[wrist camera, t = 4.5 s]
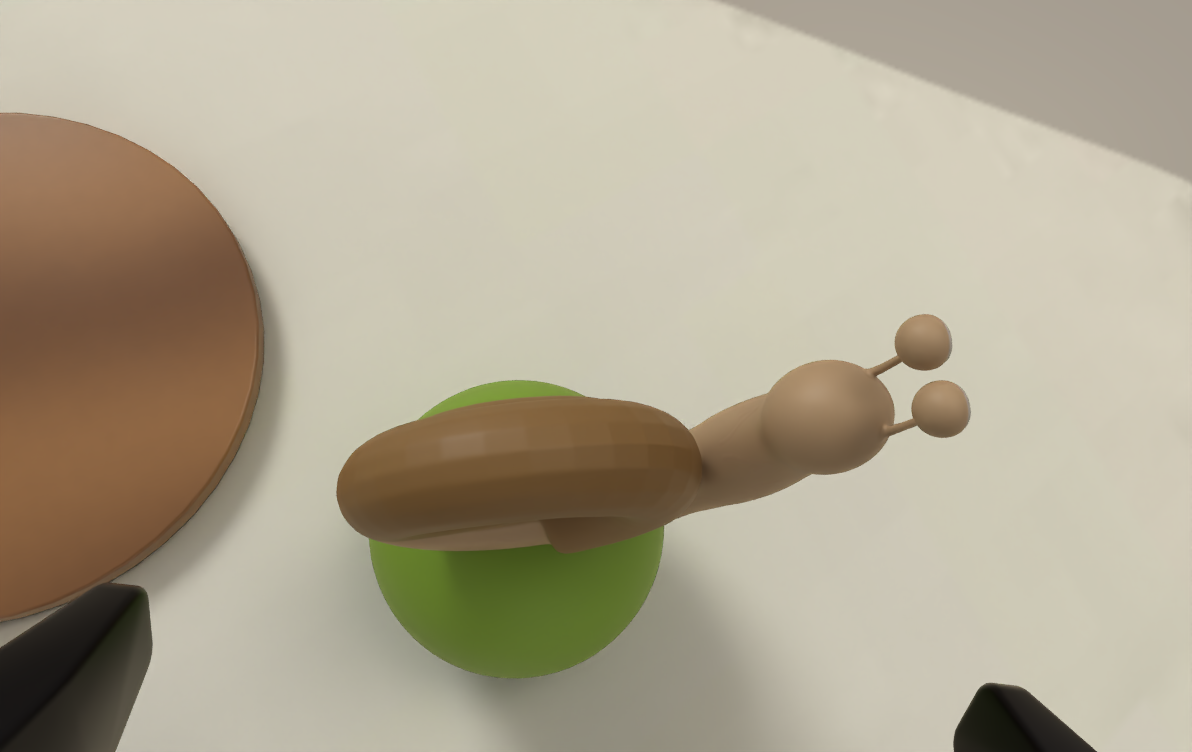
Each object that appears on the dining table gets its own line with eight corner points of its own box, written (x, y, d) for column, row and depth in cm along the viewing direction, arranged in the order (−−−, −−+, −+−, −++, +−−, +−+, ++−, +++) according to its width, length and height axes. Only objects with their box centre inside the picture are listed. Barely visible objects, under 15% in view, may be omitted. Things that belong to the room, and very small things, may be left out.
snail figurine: (697, 637, 19) (1060, 668, 7) (397, 691, 18) (269, 826, 6) (653, 397, 20) (903, 106, 9) (371, 432, 19) (228, 148, 7)
